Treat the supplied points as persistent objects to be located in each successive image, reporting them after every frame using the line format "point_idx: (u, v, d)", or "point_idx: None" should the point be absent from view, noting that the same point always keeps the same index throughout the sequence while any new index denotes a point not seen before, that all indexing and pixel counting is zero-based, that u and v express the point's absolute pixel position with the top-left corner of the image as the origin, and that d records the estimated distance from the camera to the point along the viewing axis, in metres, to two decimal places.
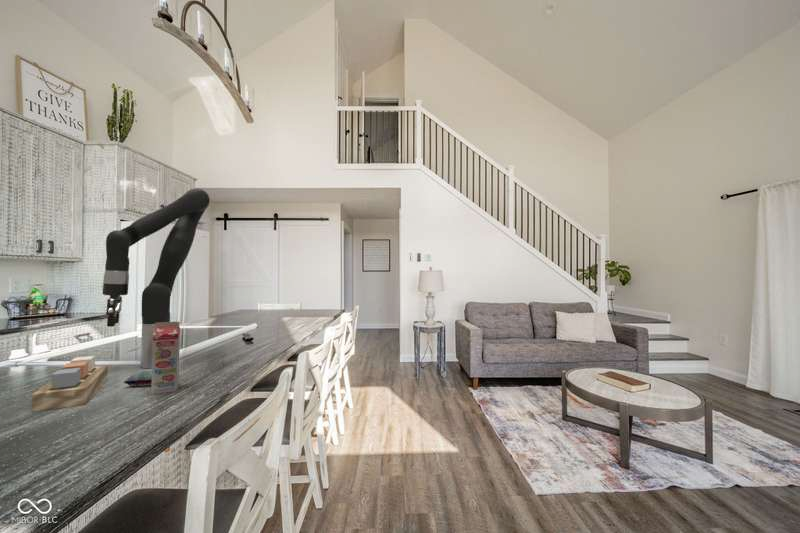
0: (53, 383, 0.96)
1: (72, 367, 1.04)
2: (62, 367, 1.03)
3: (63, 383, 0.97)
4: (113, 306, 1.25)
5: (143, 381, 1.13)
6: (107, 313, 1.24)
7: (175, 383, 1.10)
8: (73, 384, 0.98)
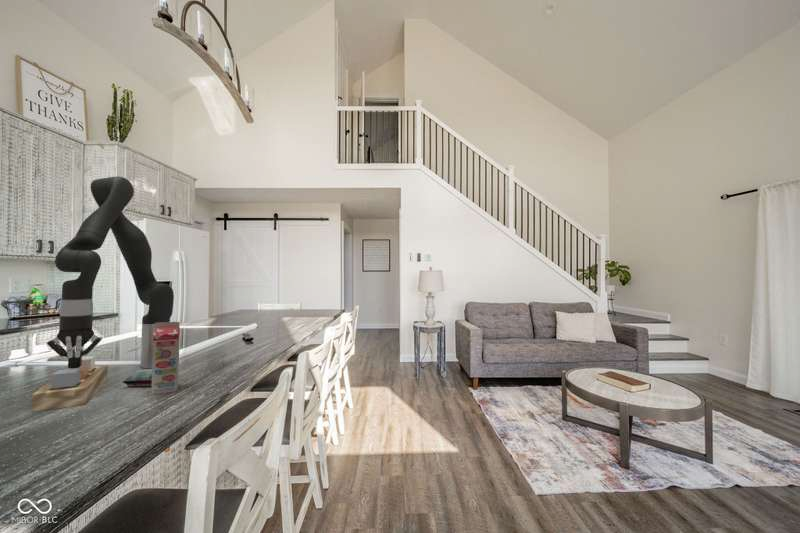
0: (53, 383, 0.96)
1: None
2: None
3: (63, 383, 0.97)
4: None
5: (141, 381, 1.12)
6: (87, 353, 1.07)
7: (175, 383, 1.10)
8: (73, 384, 0.98)
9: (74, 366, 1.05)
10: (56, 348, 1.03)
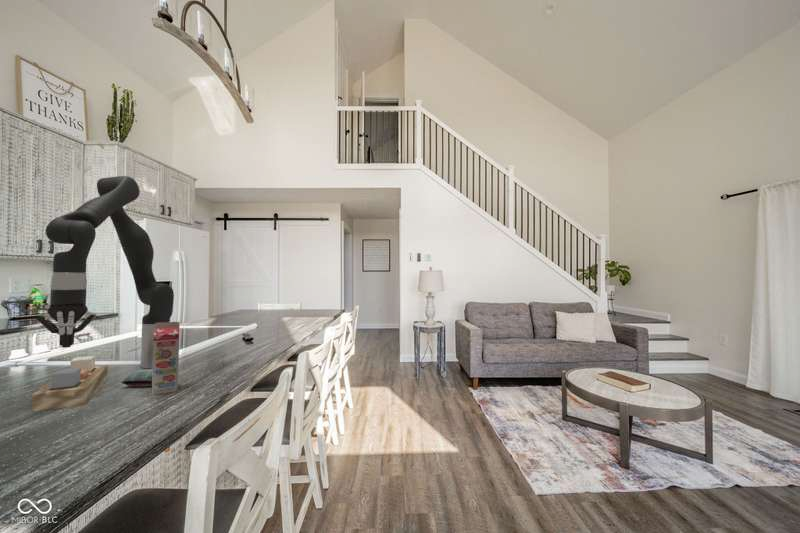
0: (53, 383, 0.96)
1: None
2: None
3: (63, 383, 0.97)
4: (89, 322, 1.03)
5: (140, 382, 1.12)
6: (80, 330, 1.00)
7: (176, 383, 1.10)
8: (73, 384, 0.98)
9: (66, 344, 0.99)
10: (47, 324, 0.97)
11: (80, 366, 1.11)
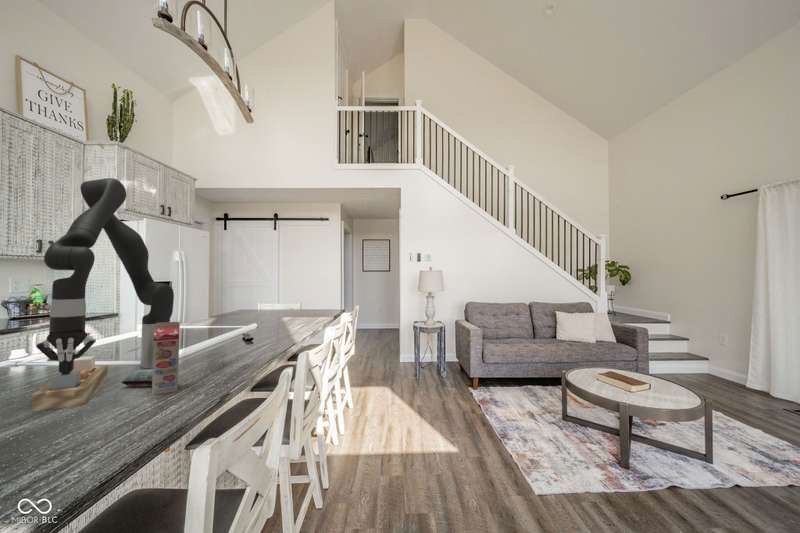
0: (53, 385, 0.96)
1: None
2: None
3: (63, 385, 0.97)
4: (88, 348, 1.02)
5: (139, 382, 1.12)
6: (79, 356, 1.00)
7: (176, 383, 1.10)
8: (73, 386, 0.98)
9: (65, 370, 0.99)
10: (46, 351, 0.96)
11: (80, 366, 1.11)
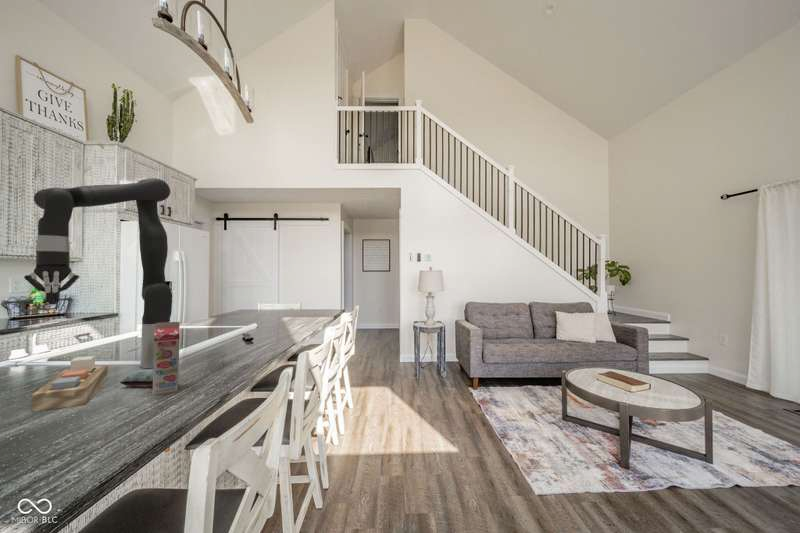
0: None
1: (72, 375, 1.04)
2: (62, 375, 1.03)
3: None
4: None
5: (138, 382, 1.12)
6: (65, 289, 1.10)
7: (176, 383, 1.10)
8: None
9: (52, 301, 1.08)
10: (34, 282, 1.06)
11: (80, 366, 1.11)
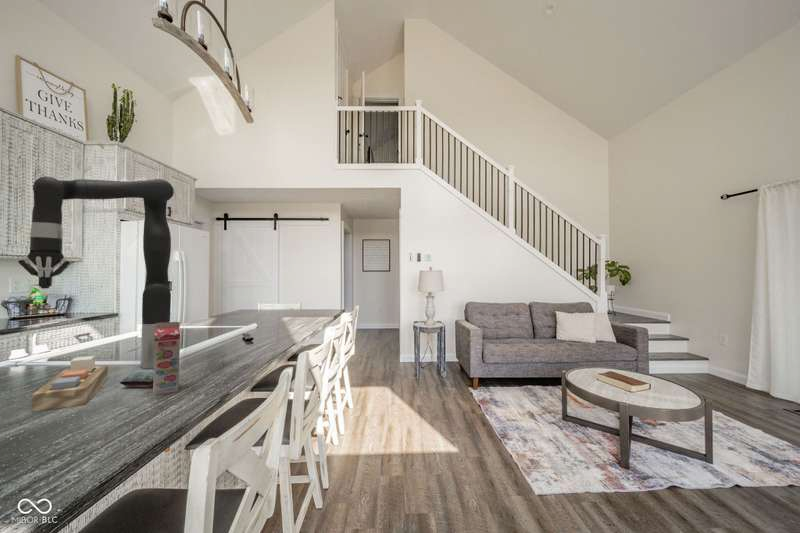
0: None
1: (72, 375, 1.04)
2: (62, 375, 1.03)
3: None
4: (65, 268, 1.17)
5: (137, 382, 1.12)
6: (57, 274, 1.15)
7: (177, 383, 1.10)
8: None
9: (44, 285, 1.14)
10: (27, 267, 1.11)
11: (80, 366, 1.11)
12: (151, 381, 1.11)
